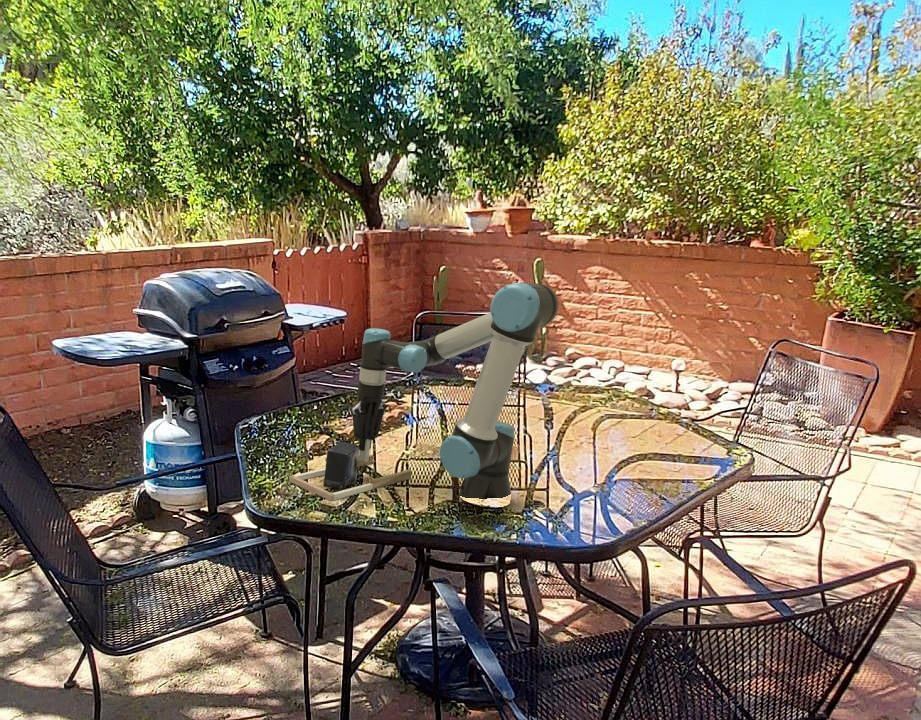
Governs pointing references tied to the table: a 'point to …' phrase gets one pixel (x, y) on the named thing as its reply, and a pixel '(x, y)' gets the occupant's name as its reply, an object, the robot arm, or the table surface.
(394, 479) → the wooden rail pair
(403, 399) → the table surface
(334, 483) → the small box
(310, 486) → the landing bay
